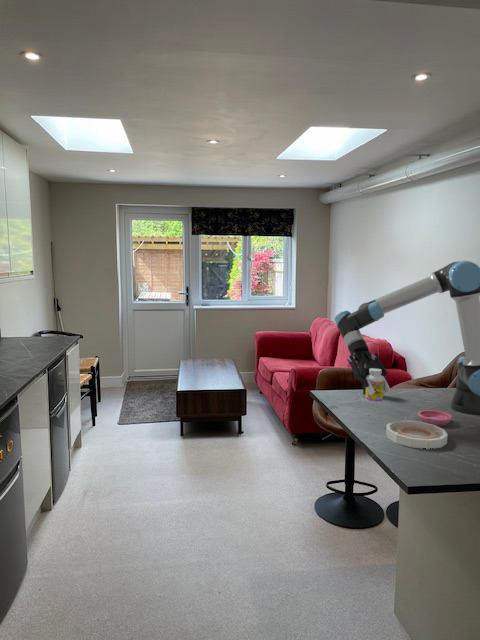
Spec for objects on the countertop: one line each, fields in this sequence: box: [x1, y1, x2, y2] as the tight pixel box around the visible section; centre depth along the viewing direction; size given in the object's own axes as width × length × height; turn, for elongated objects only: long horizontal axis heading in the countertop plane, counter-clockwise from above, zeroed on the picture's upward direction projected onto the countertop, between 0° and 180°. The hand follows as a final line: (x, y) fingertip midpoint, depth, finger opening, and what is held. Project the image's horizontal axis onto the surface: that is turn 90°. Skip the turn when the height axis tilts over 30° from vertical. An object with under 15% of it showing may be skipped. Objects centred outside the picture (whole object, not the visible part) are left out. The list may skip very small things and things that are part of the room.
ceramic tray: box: [385, 419, 448, 450], centre depth 166 cm, size 20×20×3 cm
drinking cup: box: [362, 362, 370, 396], centre depth 221 cm, size 8×8×20 cm
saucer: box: [417, 409, 453, 427], centre depth 184 cm, size 12×12×3 cm
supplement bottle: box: [364, 368, 384, 404], centre depth 180 cm, size 7×7×13 cm
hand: (380, 392), depth 177 cm, fingers closed on supplement bottle, 7 cm apart
